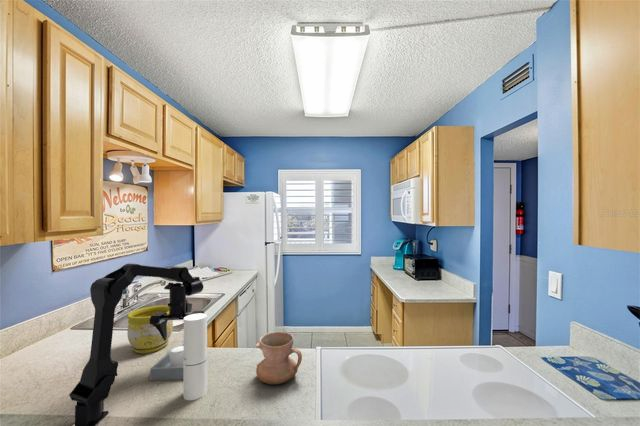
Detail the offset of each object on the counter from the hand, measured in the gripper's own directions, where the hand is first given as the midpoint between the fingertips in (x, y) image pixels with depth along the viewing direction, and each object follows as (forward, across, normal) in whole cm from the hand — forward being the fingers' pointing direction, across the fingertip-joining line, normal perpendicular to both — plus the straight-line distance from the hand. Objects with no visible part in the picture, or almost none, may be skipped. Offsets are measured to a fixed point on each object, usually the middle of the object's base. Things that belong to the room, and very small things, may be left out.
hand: (177, 339), depth 106 cm
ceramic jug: (+12, -40, +9) cm, 42 cm away
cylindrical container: (+12, -13, +16) cm, 24 cm away
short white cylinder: (+11, 0, 0) cm, 11 cm away
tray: (+11, 0, 0) cm, 11 cm away
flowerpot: (+12, +22, -21) cm, 32 cm away
